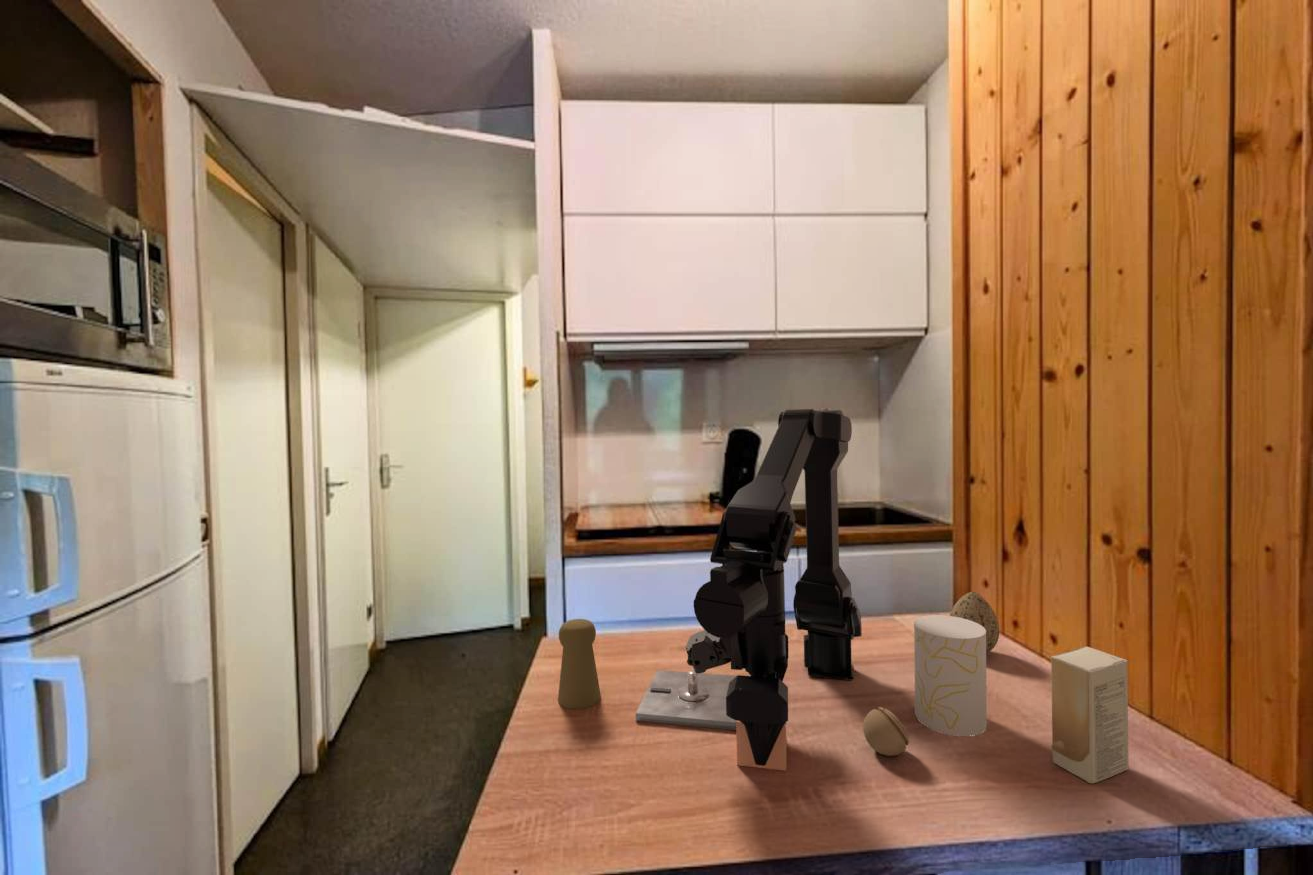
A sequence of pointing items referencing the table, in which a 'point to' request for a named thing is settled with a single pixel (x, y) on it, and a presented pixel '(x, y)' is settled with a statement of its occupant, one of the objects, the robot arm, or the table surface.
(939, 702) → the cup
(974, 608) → the decorative egg
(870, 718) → the beige rounded piece
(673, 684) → the grey square base plate
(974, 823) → the table surface
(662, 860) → the table surface
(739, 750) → the hollow block with latch
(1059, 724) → the skincare box
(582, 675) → the cork
